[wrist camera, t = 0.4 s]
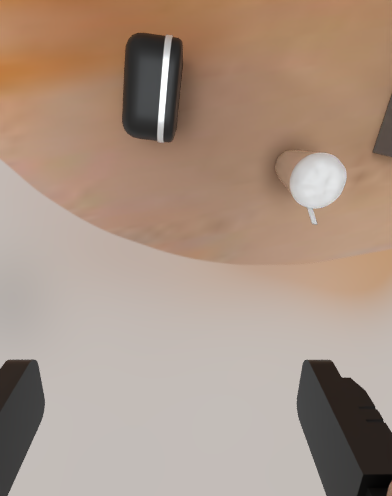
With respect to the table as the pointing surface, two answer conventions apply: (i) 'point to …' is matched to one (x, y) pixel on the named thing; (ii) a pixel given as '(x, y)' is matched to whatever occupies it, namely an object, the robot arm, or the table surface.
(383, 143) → the block
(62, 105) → the table surface
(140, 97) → the battery charger
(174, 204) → the table surface
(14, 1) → the table surface
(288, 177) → the milkshake
